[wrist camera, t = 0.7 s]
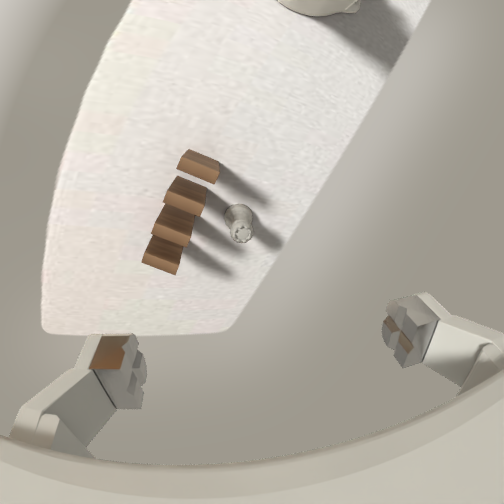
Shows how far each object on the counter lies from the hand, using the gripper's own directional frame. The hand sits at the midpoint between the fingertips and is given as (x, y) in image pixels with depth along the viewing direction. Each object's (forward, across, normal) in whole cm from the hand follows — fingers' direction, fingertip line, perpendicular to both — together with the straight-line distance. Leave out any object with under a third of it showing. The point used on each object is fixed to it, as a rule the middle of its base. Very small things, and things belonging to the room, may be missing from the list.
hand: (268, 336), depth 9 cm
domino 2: (+38, +5, +3) cm, 39 cm away
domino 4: (+38, +10, +10) cm, 41 cm away
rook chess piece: (+39, -2, +8) cm, 40 cm away
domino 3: (+38, +8, +7) cm, 40 cm away
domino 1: (+38, +3, -1) cm, 38 cm away
